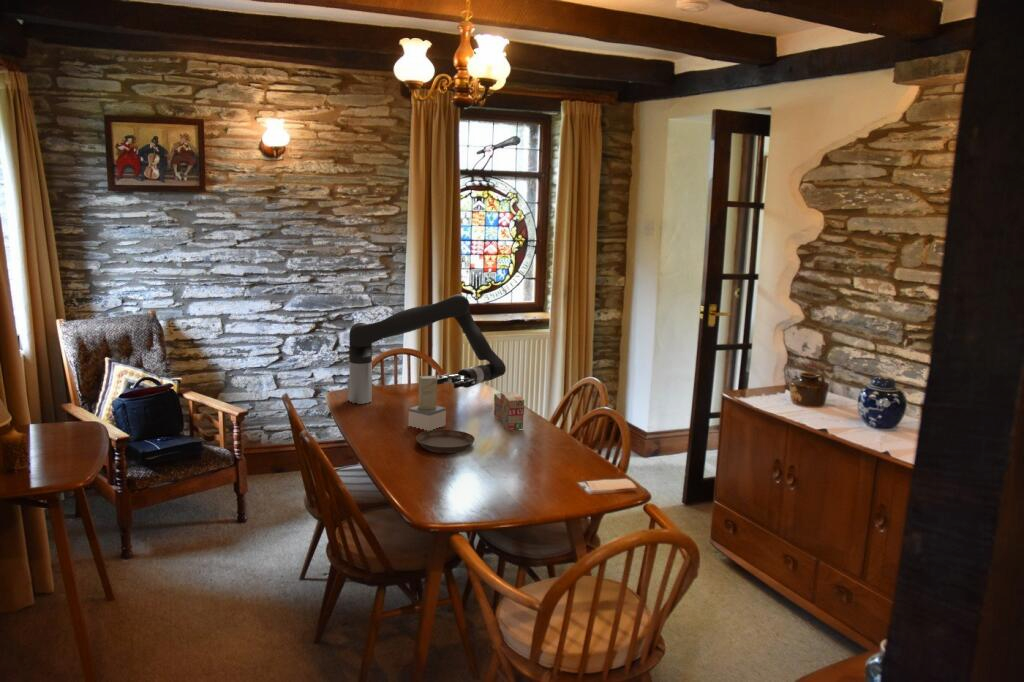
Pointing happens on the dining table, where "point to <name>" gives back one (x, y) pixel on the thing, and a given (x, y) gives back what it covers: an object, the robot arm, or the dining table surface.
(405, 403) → the dining table surface
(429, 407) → the skincare box
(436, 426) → the block
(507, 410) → the printed cardboard box
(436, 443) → the plant saucer
